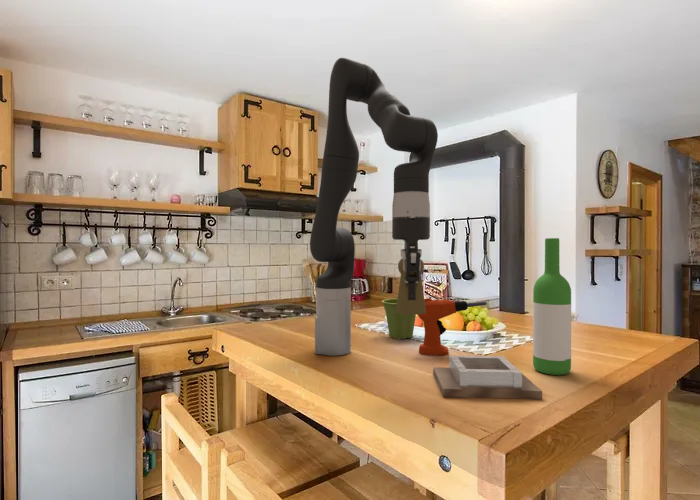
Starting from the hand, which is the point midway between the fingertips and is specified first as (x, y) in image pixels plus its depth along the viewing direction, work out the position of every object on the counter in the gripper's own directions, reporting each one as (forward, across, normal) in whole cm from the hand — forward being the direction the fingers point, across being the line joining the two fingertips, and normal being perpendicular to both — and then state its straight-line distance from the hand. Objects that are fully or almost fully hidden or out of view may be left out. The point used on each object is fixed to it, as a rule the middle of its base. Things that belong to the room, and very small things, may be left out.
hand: (410, 301), depth 84 cm
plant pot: (+17, -46, 0) cm, 49 cm away
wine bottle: (+17, -12, +33) cm, 39 cm away
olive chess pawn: (+2, 0, 0) cm, 2 cm away
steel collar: (+16, -1, +15) cm, 21 cm away
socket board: (+17, -1, +15) cm, 22 cm away
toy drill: (+17, -26, +12) cm, 34 cm away
